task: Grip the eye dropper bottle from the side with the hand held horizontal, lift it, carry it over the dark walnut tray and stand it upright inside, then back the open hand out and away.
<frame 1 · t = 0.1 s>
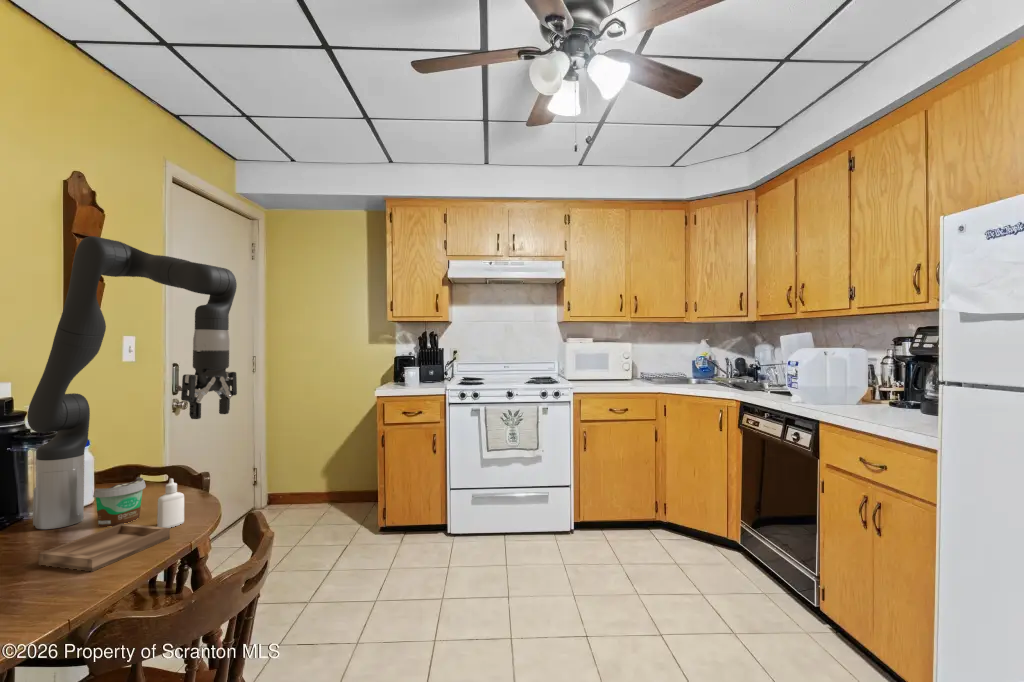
hand: (210, 416, 120), 29 cm above the table, tool pointing down, fingers open, 8 cm apart
food container: (126, 522, 131), on the table
walnut tray: (108, 550, 112), on the table
eye dropper bottle: (170, 526, 128), on the table
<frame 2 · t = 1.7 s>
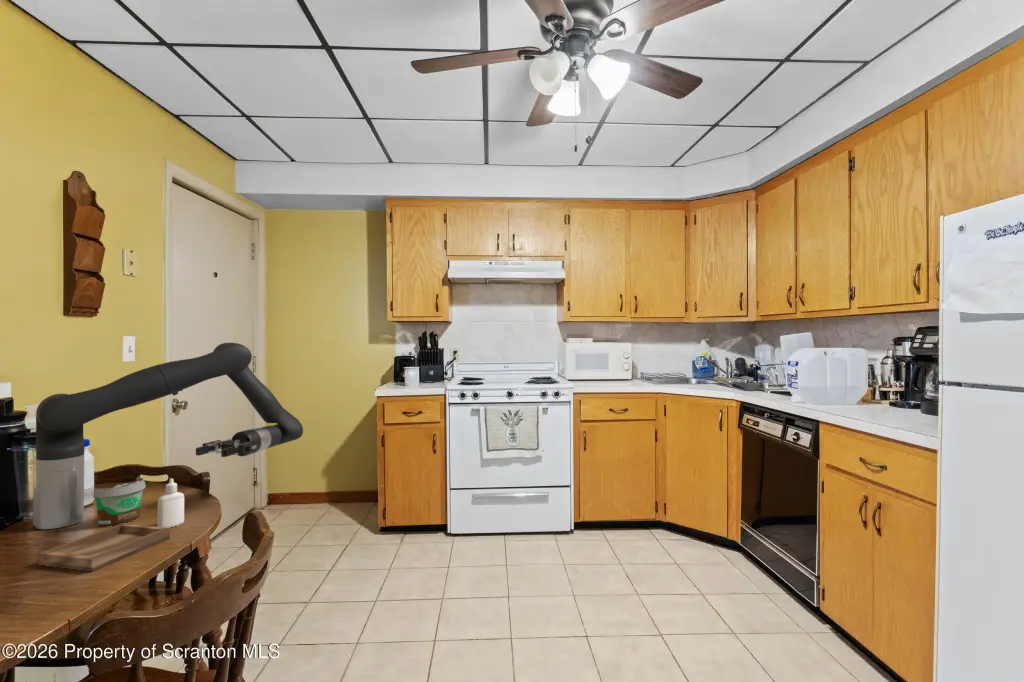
hand: (209, 452, 139), 16 cm above the table, tool horizontal, fingers open, 8 cm apart
nothing on the table moved.
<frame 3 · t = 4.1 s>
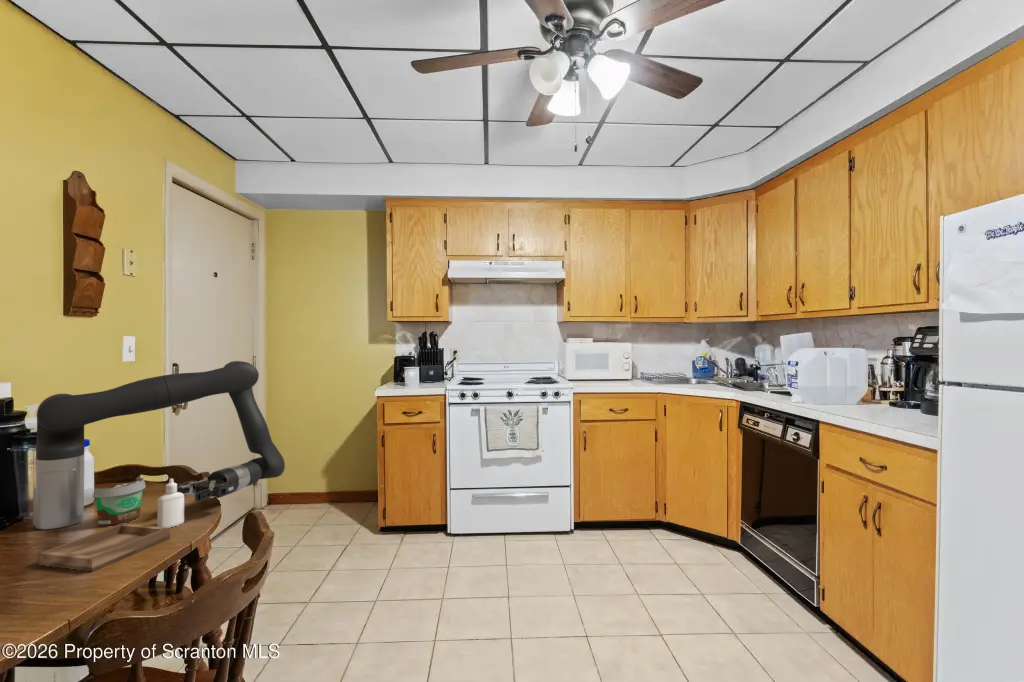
hand: (182, 496, 131), 6 cm above the table, tool horizontal, fingers open, 8 cm apart
nothing on the table moved.
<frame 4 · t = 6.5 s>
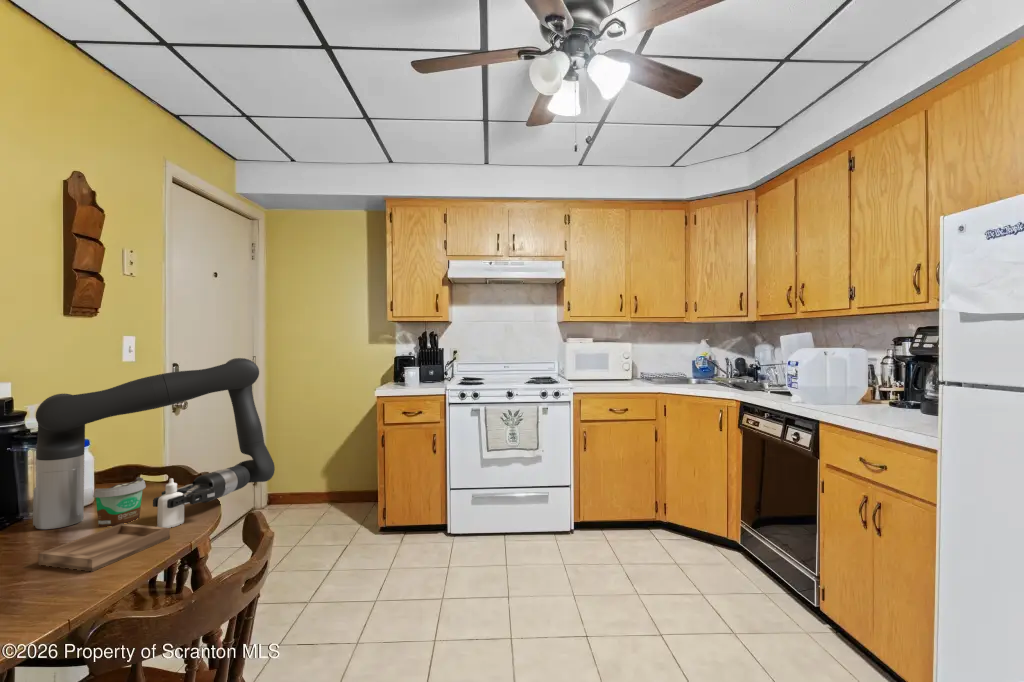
hand: (161, 503, 125), 7 cm above the table, tool horizontal, fingers closed on eye dropper bottle, 3 cm apart
eye dropper bottle: (170, 526, 128), on the table, touching gripper
everything else where it was.
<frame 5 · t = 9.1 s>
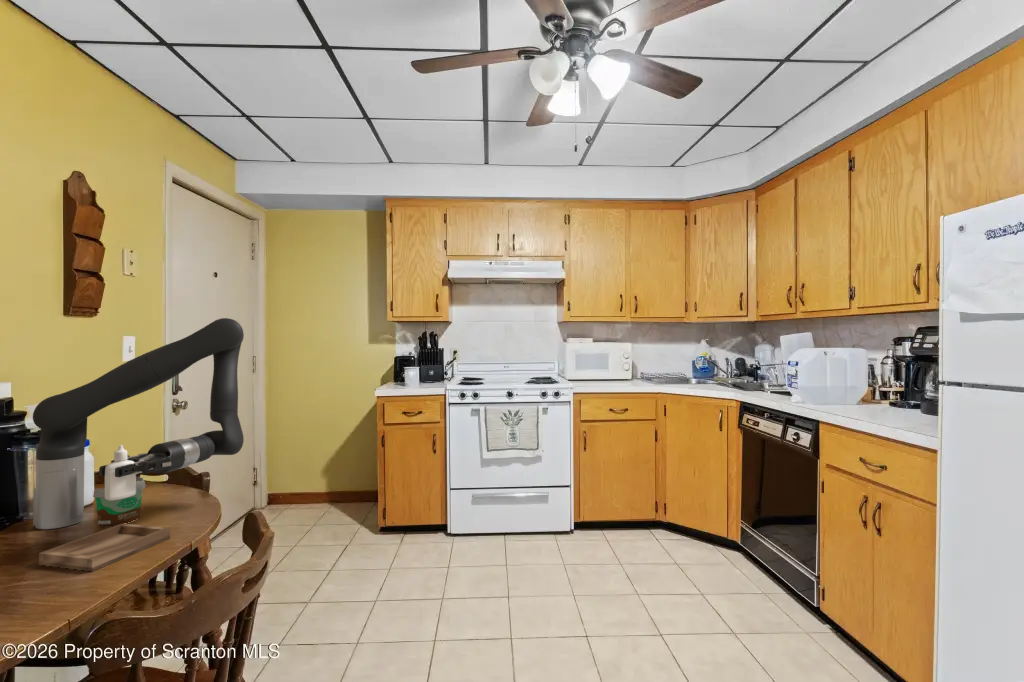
hand: (108, 472, 112), 18 cm above the table, tool horizontal, fingers closed on eye dropper bottle, 3 cm apart
eye dropper bottle: (120, 498, 115), point 11 cm above the table, touching gripper
everything else where it was.
when the fingers open (8 cm above the table, at t = 11.9 s): eye dropper bottle drops 1 cm, resting on walnut tray.
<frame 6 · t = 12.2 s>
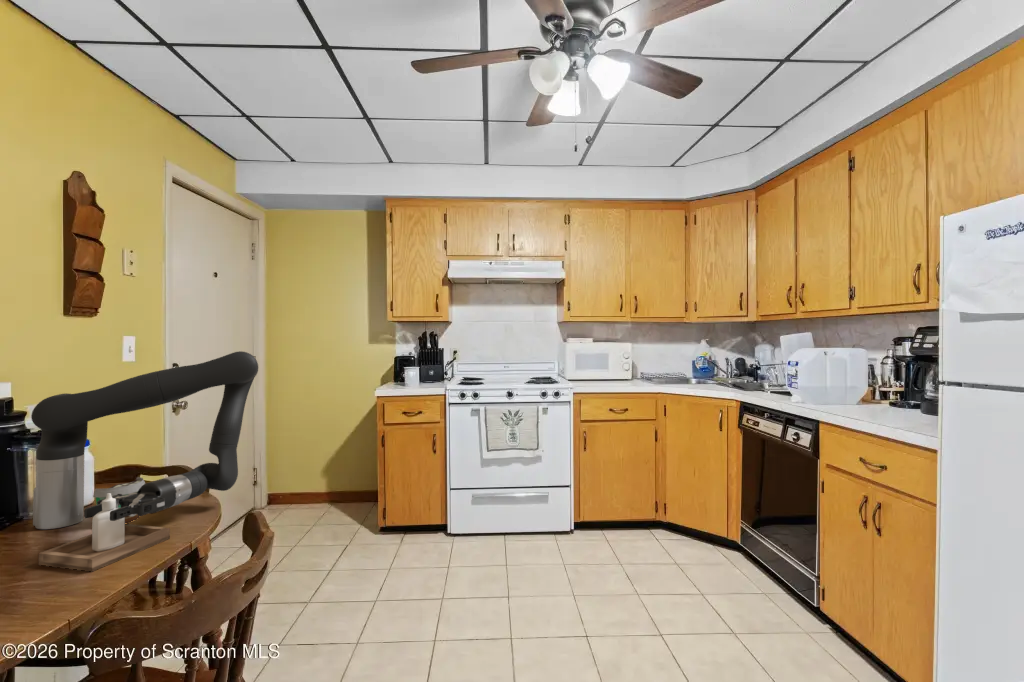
hand: (98, 515, 110), 9 cm above the table, tool horizontal, fingers open, 6 cm apart
eye dropper bottle: (108, 548, 112), point 1 cm above the table, touching walnut tray
everything else where it was.
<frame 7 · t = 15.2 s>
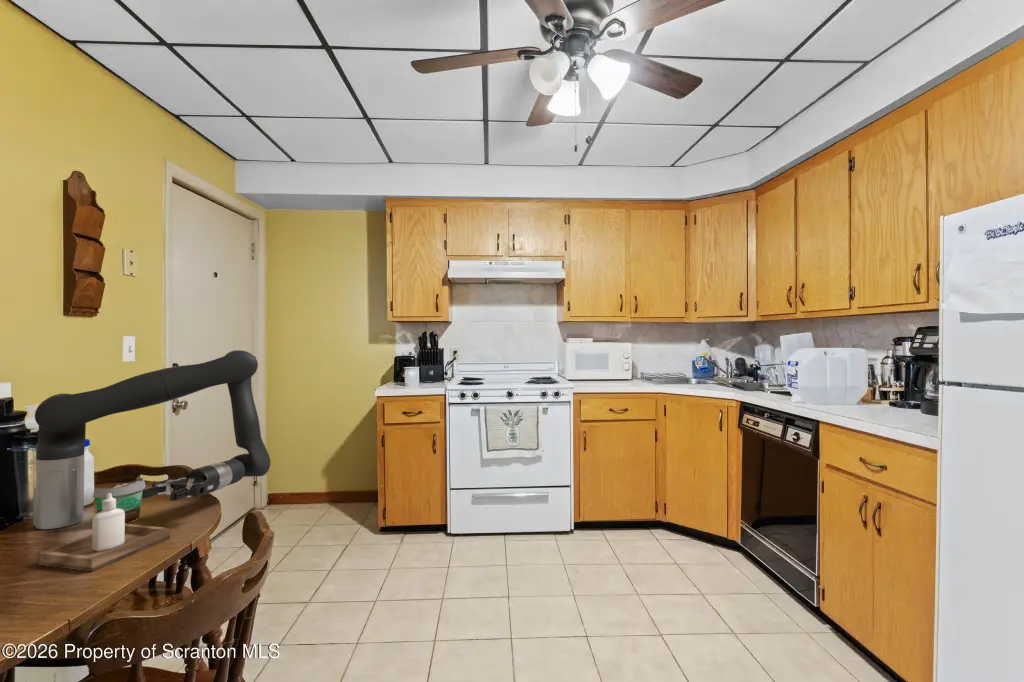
hand: (157, 495, 124), 9 cm above the table, tool horizontal, fingers open, 8 cm apart
nothing on the table moved.
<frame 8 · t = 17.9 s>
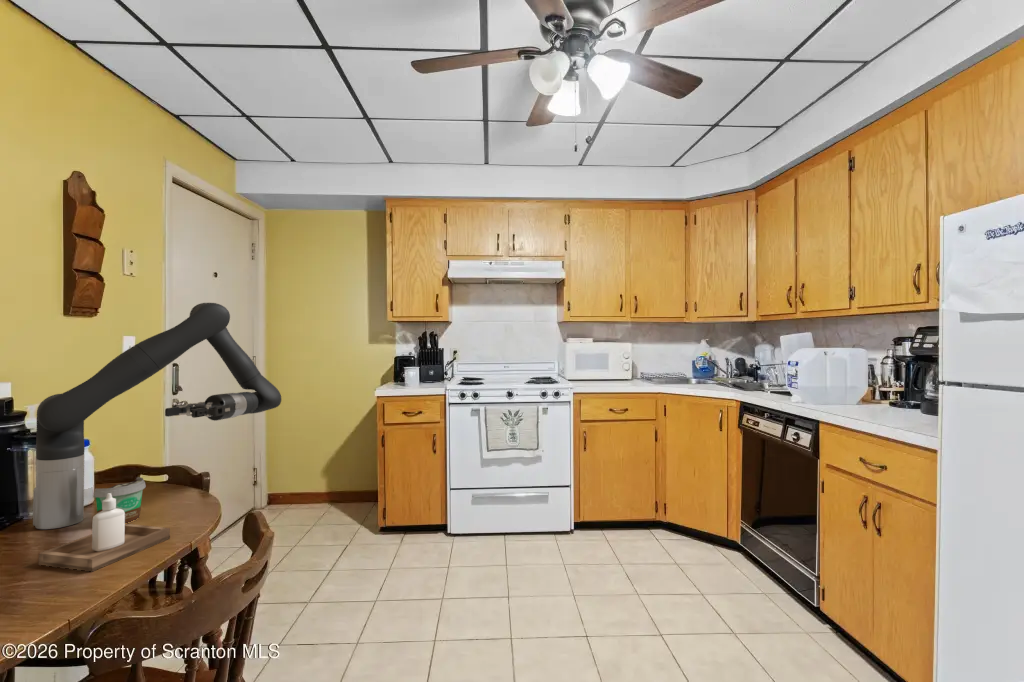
hand: (179, 413, 134), 28 cm above the table, tool horizontal, fingers open, 8 cm apart
nothing on the table moved.
at the end: eye dropper bottle inside the target area on the walnut tray (0.0 cm from its centre), point 0.6 cm above the walnut tray's base; eye dropper bottle tilted 0°; the gripper is holding nothing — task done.
